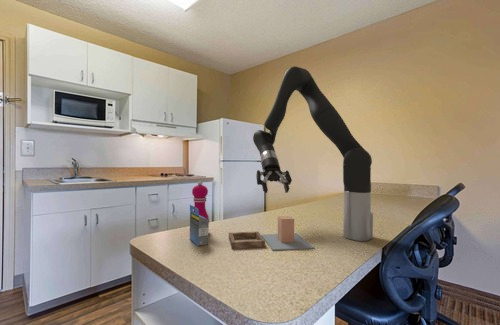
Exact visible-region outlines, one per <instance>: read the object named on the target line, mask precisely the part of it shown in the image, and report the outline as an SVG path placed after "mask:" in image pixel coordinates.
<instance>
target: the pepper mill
mask: <svg viewBox="0 0 500 325" xmlns="http://www.w3.org/2000/svg"><path fill="white" fill-rule="evenodd" d="M191 193H192V194H191V195H192V196H193V197H192V198H193V203H194V205H193V206H194V207H196V208H198V211H199V215H200V216H202V217H204V218H206V219H208V220H209V221H210V219H209V215H208V213H207V209H206V202H207V195H208V193H209V190H208V187H207V186H206V185H203V181H202V180H199V181H198V182H197V185H195V186H194V187H192V191H191ZM193 211H194V212H196V211H195V210H193Z"/></svg>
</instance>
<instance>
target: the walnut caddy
mask: <svg viewBox="0 0 500 325" xmlns="http://www.w3.org/2000/svg"><path fill="white" fill-rule="evenodd" d="M239 239H245V240H239ZM246 239H253V240H246ZM228 241H229V245H230V247H231V250H233V249H235V250H236V249H253V248H255V249H257V248H266V241H265V240H264V239H263V237H262V236H261V233H260V232H259V231H238V232H236V231H235V232H228Z"/></svg>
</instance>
